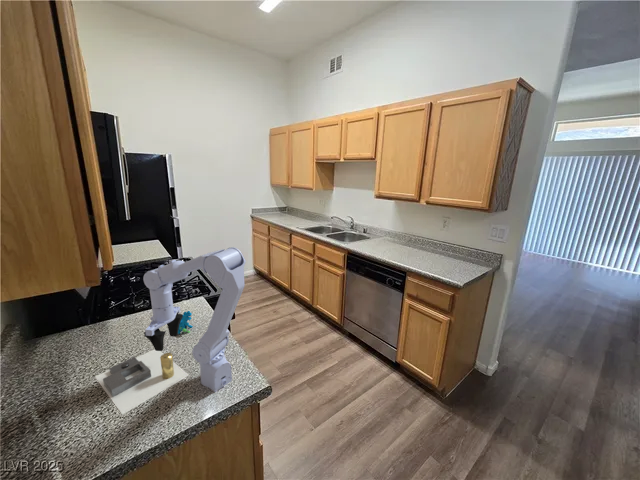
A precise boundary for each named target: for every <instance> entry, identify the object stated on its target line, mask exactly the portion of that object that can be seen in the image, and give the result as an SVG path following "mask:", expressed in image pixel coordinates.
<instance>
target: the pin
mask: <svg viewBox="0 0 640 480" xmlns="http://www.w3.org/2000/svg"><path fill="white" fill-rule="evenodd" d="M160 359H161V368H162V377H163V379H169V378H171V377H173V375H174V367H173V362H174V358H173V353H172V352H166V353H164V354H163V355H162V356H161V357H160Z"/></svg>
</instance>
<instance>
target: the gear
mask: <svg viewBox="0 0 640 480" xmlns="http://www.w3.org/2000/svg"><path fill="white" fill-rule="evenodd" d="M182 315H183V318H182V319H181V322H180V325H179V329H178V335H180V334H181V332H183V333H184V334H186V333H187V334H190V333H191V331H190V330H189V329H192V328H193V325H192V324H190V322H191V319H192V315H193V314H192V312H191V311H189V310H187V311H184V312H183V313H182ZM188 321H190V322H188Z"/></svg>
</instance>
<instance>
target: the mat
mask: <svg viewBox="0 0 640 480" xmlns="http://www.w3.org/2000/svg"><path fill="white" fill-rule="evenodd" d="M163 354H165V353H164V352H162V351H156V350H155V348H154V349H152V350H150V351H148V352H146V353H144V354H141V355H139V356H136V357H135V358H136V359H137V360H138V361H142V362H143V363H144V364H145V365H146V366H147V367H148V368H149V369H150V370H151V377H150V378H148V379H146V380H144V381H142V382H141V383H139V384H137V385H135V386H133V387H131V388H129V389H127V390H125V391H124V392H122V393H120V394H118V395H116V396H114V397H112V396H111V394H110V393H109V392H108V390H107V389H106V387H105V386H104V382H103V378H106V377H108V376H110V375H112V374H111V373H110V371H109V369H108V370H106V371H104V372H102V373H100V374H98V375H96V376H94V378H95V379H96V381H97V382H98V384H100V386H101V388H102V389H103V390H104V391H105V393H106V394H107V395H108V397H109V398H110V400H111V401H112V402H113V404H114V405H115V407H116V409H118V411H119V412H120V414H121V415H125V414H126V413H127V412H130V411H131V410H133V409H134V408H137V406H139V405H141V404H143V403H145V402H147V401H148V400H150V399H152V398H153V397H155V396H157V395H158V394H160V393H162V392H163V391H165V390H167V389H169V388H170V387H172V386H173V385H175V384H177V383H178V382H180V381H182V380H183V379H185V378H187V377H188V376H190V375H189V373H187V372H186V371H185V370H184V369H182V368H181V367H180V366H179V365H178V364H177V363H175V362H174V361H173V367H174V375H173V377H171V378H169V379H163V377H162V368H161V359H160V357H161V356H162V355H163ZM140 373H142V372H141V371H140V370H139V371H137V372H135V373H133V374H131V375H129V376H127V377H125V379H126V380H128V379H130V378H132V377H134V376H136V375H138V374H140Z"/></svg>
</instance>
